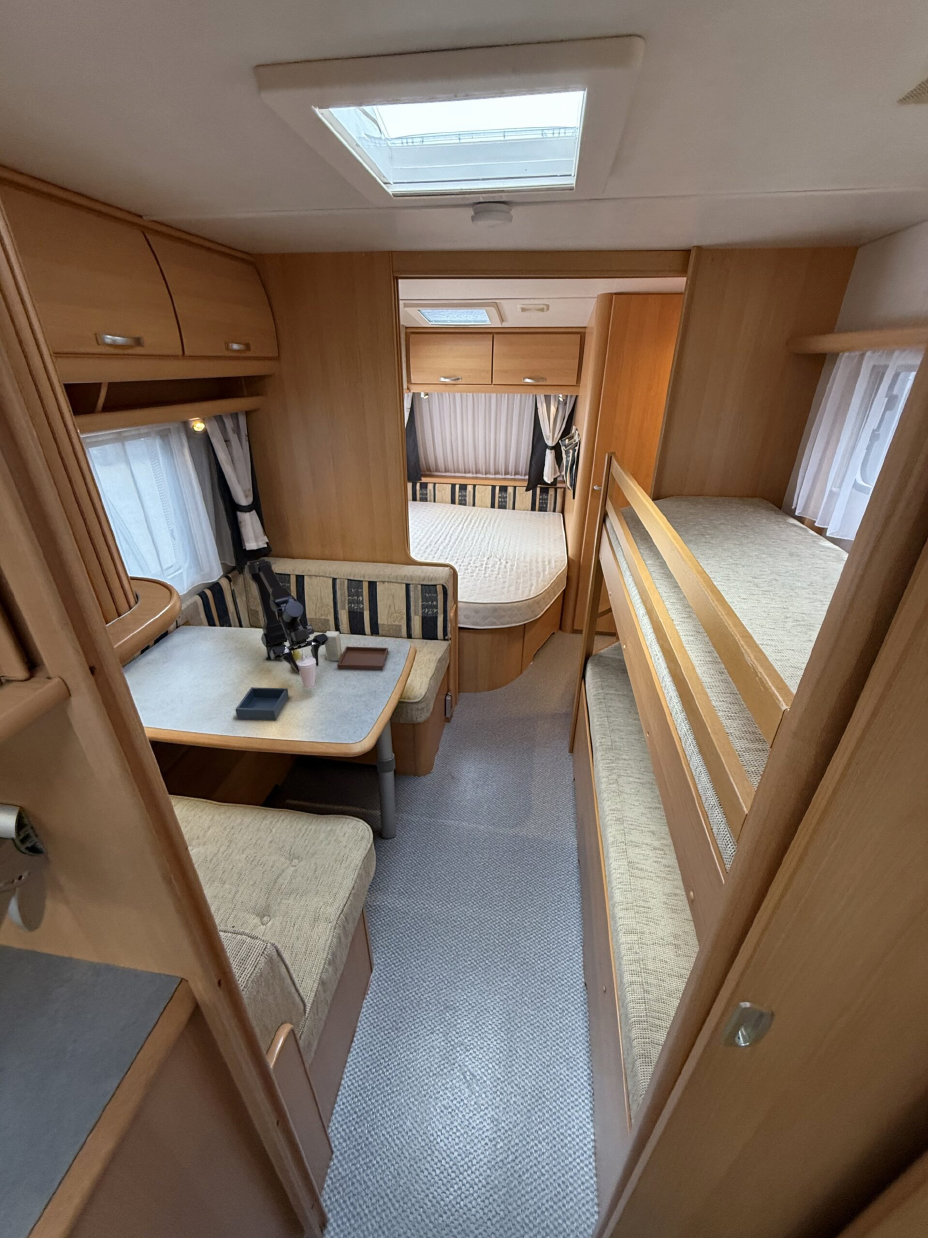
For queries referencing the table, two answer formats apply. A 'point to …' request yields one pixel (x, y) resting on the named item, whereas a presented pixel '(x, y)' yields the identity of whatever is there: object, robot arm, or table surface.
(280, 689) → the bin
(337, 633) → the box
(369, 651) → the tray
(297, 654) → the fruit
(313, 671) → the smoothie
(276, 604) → the robot arm
